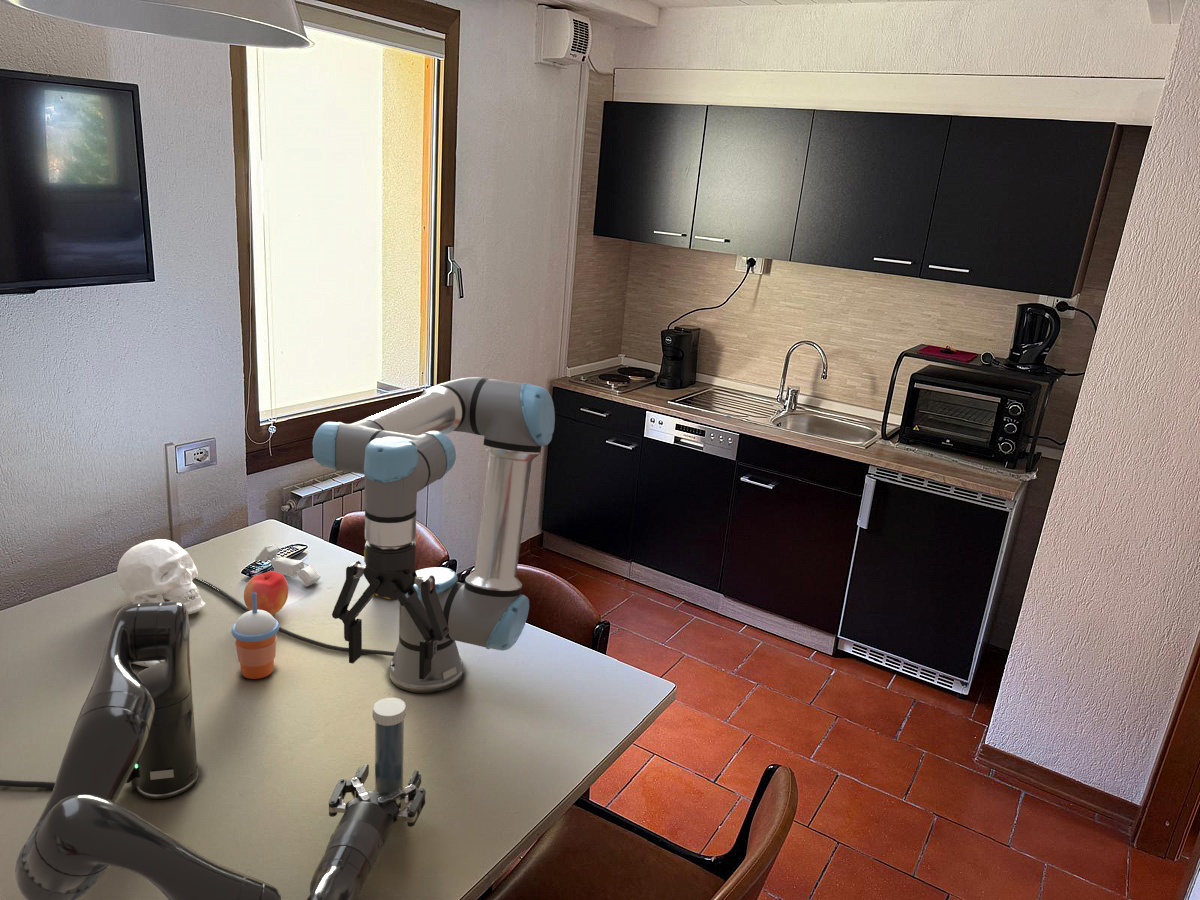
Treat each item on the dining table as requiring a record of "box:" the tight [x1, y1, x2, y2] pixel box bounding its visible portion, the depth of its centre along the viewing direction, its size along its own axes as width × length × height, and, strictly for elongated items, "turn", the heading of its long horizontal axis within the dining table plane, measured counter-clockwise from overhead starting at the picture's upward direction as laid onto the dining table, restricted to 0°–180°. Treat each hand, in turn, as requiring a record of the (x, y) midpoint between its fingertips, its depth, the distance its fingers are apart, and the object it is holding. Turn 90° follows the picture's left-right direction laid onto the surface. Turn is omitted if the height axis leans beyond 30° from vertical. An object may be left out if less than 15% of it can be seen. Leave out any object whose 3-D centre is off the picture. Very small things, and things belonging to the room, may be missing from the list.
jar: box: [374, 719, 405, 803], centre depth 140 cm, size 4×4×20 cm
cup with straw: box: [231, 592, 280, 680], centre depth 176 cm, size 9×9×18 cm
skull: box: [116, 538, 206, 615], centre depth 199 cm, size 13×22×16 cm, turn 73°
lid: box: [372, 697, 407, 726], centre depth 137 cm, size 5×5×2 cm
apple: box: [243, 570, 289, 617], centre depth 199 cm, size 10×10×10 cm
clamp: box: [254, 544, 322, 587], centre depth 219 cm, size 20×4×7 cm, turn 62°
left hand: (391, 771), depth 142 cm, fingers open, 8 cm apart
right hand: (389, 667), depth 135 cm, fingers open, 11 cm apart
